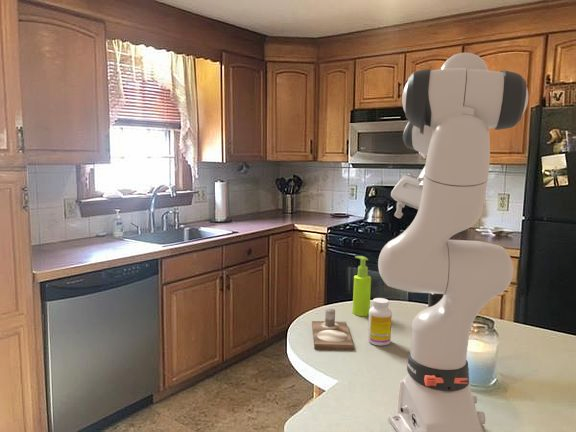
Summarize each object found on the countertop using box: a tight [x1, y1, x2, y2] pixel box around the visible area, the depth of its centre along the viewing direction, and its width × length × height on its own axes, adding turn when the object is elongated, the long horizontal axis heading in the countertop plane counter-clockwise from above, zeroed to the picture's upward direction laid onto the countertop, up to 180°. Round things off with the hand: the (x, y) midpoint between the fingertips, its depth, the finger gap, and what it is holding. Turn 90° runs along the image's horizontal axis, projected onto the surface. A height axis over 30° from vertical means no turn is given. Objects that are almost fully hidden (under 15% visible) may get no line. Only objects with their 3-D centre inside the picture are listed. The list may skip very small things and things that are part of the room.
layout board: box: [311, 308, 354, 351], centre depth 141 cm, size 18×11×6 cm, turn 179°
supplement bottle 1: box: [367, 297, 393, 347], centre depth 138 cm, size 7×7×13 cm
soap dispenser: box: [352, 255, 372, 317], centre depth 162 cm, size 6×7×20 cm
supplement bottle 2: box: [427, 293, 444, 308], centre depth 159 cm, size 7×7×12 cm
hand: (409, 222), depth 132 cm, fingers open, 8 cm apart
